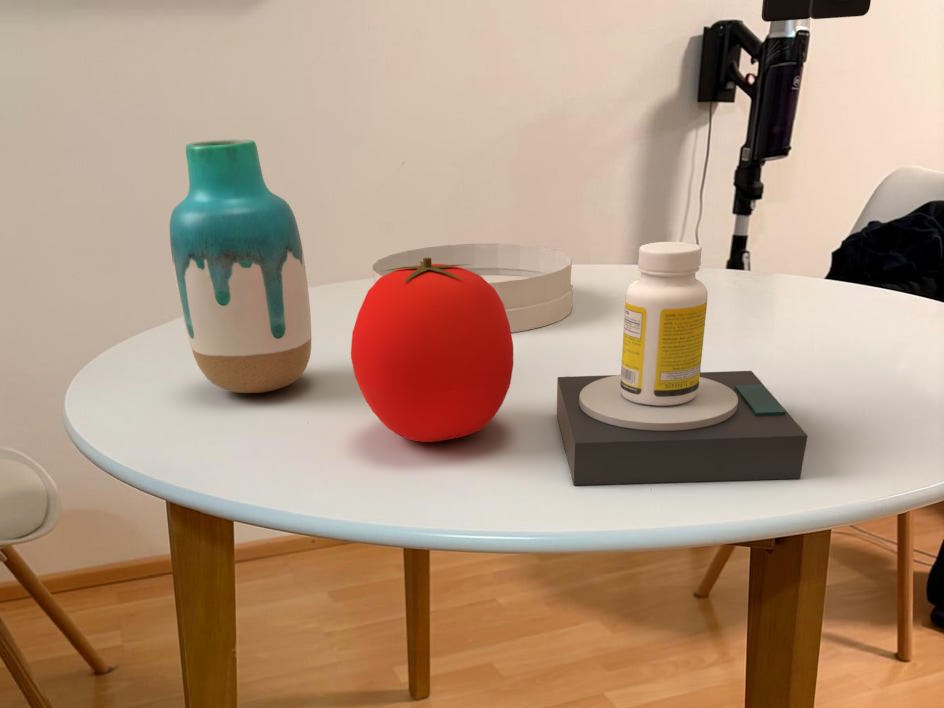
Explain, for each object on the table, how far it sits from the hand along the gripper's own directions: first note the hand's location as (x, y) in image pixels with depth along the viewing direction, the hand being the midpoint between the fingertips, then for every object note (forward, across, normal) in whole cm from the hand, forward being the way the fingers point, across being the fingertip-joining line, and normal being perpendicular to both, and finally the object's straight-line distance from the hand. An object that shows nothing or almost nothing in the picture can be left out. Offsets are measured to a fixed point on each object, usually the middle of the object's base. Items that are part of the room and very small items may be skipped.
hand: (810, 18), depth 55 cm
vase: (+25, +12, +41) cm, 49 cm away
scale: (+25, -4, +8) cm, 27 cm away
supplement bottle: (+22, -4, +8) cm, 24 cm away
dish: (+25, +38, +22) cm, 51 cm away
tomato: (+25, -1, +25) cm, 35 cm away
